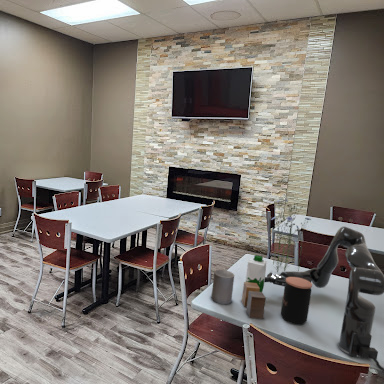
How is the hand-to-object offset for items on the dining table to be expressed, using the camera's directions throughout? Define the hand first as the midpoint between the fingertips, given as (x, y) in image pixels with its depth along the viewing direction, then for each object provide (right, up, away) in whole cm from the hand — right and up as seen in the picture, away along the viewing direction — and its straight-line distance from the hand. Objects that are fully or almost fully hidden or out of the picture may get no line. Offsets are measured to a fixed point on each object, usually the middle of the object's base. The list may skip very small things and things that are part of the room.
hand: (262, 279), depth 174 cm
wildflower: (+27, -4, +37) cm, 46 cm away
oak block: (-11, -9, -11) cm, 18 cm away
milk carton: (-5, -8, 0) cm, 9 cm away
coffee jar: (+5, -12, -23) cm, 26 cm away
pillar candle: (-24, -8, -8) cm, 26 cm away
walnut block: (-12, -11, -21) cm, 26 cm away
